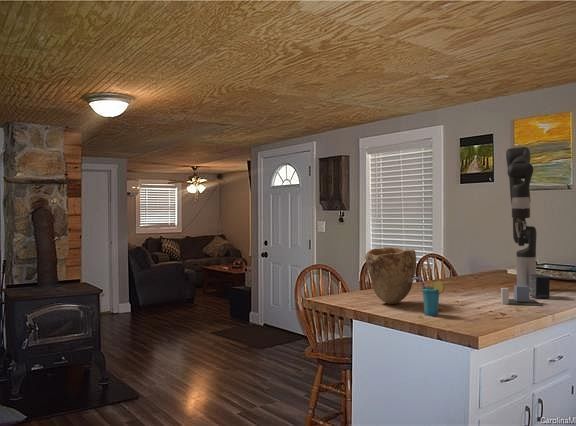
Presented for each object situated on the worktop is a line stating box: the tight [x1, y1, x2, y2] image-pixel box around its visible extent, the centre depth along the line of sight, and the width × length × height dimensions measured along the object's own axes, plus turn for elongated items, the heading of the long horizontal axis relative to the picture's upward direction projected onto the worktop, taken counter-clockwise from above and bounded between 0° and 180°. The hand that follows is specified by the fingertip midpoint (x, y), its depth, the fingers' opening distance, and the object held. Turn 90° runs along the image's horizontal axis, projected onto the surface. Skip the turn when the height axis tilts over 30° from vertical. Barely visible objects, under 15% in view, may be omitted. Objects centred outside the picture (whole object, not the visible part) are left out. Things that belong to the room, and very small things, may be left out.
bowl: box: [364, 246, 417, 305], centre depth 230 cm, size 22×22×25 cm
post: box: [500, 287, 510, 306], centre depth 227 cm, size 3×3×7 cm
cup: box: [412, 276, 445, 317], centre depth 206 cm, size 14×8×15 cm, turn 53°
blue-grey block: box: [513, 284, 530, 302], centre depth 229 cm, size 5×5×7 cm
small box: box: [529, 274, 550, 300], centre depth 242 cm, size 11×6×10 cm, turn 168°
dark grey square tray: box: [508, 298, 544, 307], centre depth 229 cm, size 14×14×7 cm
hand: (521, 245), depth 229 cm, fingers closed
